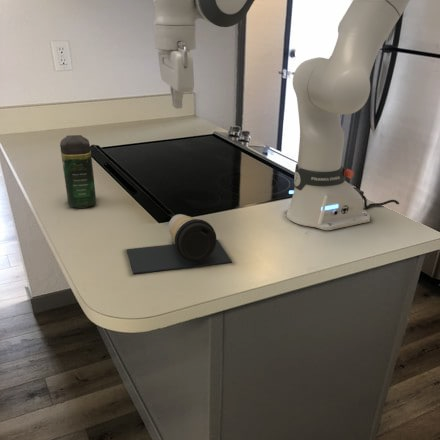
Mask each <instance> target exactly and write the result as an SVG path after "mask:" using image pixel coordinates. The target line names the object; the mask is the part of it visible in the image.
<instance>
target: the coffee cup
mask: <svg viewBox="0 0 440 440" xmlns="http://www.w3.org/2000/svg"><path fill="white" fill-rule="evenodd" d="M167 226H168V227H167V229H168V232H169V234H170V237H171V239H172V241H173V244H175V248H176V250H177V252H178V254H179V255H180V256H181V257H182V258H184V259H186V260H188V261H193V262H197V261H201V260H204V259H206V258H207V257H208V256H210V255H211V253H212V252H213V250H214V249H215V246H216V240H218V239H217V233H216V231H215V229H214V227H213V226H212V225H211V223H210V222H208V221H206V220H203V219H199V218H194V217H192V216H189V215H186V214H182V213H179V214H175V215H174V216H172V217H171V219H170V220H169V222H168V225H167Z"/></svg>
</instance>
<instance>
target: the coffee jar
mask: <svg viewBox="0 0 440 440" xmlns="http://www.w3.org/2000/svg"><path fill="white" fill-rule="evenodd" d="M59 147H60V154H61V155H60V156H61V163H62V169H63V175H64V176H63V177H64V182H65V183H64V184H65V189H66V191H65V192H66V197H67V204H68V205H69V206H70V208H78V209H86V208H88V207H92V206H95V205H96V202H97V196H96V195H97V194H96V187H95V186H96V185H95V176H94V168H93V167H94V166H93V159H92V158H93V157H92V151H91V145H90V141H89V139H88V138H87V137H84V136H83V135H81V134H74V135H73V134H71V135H70V134H69V135H65V137H64V138H62V139H61V140H60V142H59Z"/></svg>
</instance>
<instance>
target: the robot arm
mask: <svg viewBox="0 0 440 440" xmlns="http://www.w3.org/2000/svg"><path fill="white" fill-rule="evenodd" d="M152 1H153V5H154V10H155V11H154V12H155V16H154V21H153V27H154V29H153V30H154V48H155V49H156V50H157V57H158V66H159V73H160V77H161V81H163V82H164V83H166V84H167V85H168V86H169V91H170V96H171V103H172V104H171V105H172V106H173V108H174V109H176V110H177V109H178V110H179V109H182V108H183V98H184V95H185V94H184V93H192V92H193V91H194V88H195V74H194V59H193V54H192V53H191V51H194V50H196V49H197V43H196V42H197V38H196V37H197V36H196V34H197V33H196V32H197V31H196V29H197V28H196V21H197V20H198V19H201V20H203V21H205V22H208V23H211V24H213V25H214V26H215V27H216V26H217V27H220V28H229V27H233V26H235V25H237V24H239V23H240V22H241V21H242V20H243V19H244V18H245V17H246V16H247V14H248V12H249V11H250V9H251V7H252V6H253V4H254V2H255V1H256V0H152ZM410 1H411V0H352V2H351V3H350V5H349V7H348V8H347V10H346V11H345V13H344V14H343V16H342V18H341V20H340V21H339V23H338V27H337V34H338V35H337V38H336V42H335V45H334V47H333V50H332V53H331V55H330V56H329V58H325V57H319V56H318V57H313V58H310V59H307V60H304V61H303V62H301V63H300V64H299V65H298V66H297V67H296V69H295V70H294V72H293V75H292V88H293V91H294V93H295V96H296V102H297V103H296V104H297V111H298V113H297V114H298V122H299V142H298V143H299V144H298V155H297V163H296V165H295V168H294V178H293V186H294V187H293V188H294V189H293V190H289V191H288V194H289V195H292V197H291V201H290V204H289V207H288V210H287V212H286V218H287V219H288V220H289V221H291V222H293V223H295V224H297V225H301V226H304V227H311V228H317V229H320V230H323V231H333V230H336V229H342V228H347V227H351V226H355V225H360V224H366V223H369V222H370V221H371V215H370V214H369V213H368V212H367V210H368V209H369V208H370V207H379V206H384V205H387V204H389V203H394V204H395V205H399V204H400V202H399V201H398V200H396V199H388V200H386V201H383V202H375V203H374V202H372V203H369V204H368V199H367V197H366V195H364V193H365V192H364V191H363V190H361V189H359V188H357V187H355V186H352V185H351V184H350V183H349V182H347V180H346V178H347V179H352V178H353V177H354V175H355V172H354V170H352V169H350V168H347V169H346V167H344V166H342V160H343V154H344V146H345V142H346V141H345V139H346V137H345V136H346V135H345V132H344V130H343V126H342V123H341V117H340V115H341V116H343V115H351V114H355V113H357V112H359V111H360V110H361V109H362V108H363V107H364V106H365V104H366V103H367V102H368V99H369V97H370V93H371V81H370V79H371V78H370V77H371V73H372V70H373V67H374V64H375V61H376V59H377V57H378V55H379V54H378V53H379V52H380V50H381V49H382V47H383V45H384V43H385V42H386V40H387V38H388V37H389V35H390V34H391V32H392V30H393V29H394V27H395V26H396V24H397V23H398V21H399V19H400V18H401V16H402V15H403V13H404V12H405V10H406V8H407V7H408V5H409V2H410ZM345 177H346V178H345ZM364 208H365V209H367V210H365V209H364Z"/></svg>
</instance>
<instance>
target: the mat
mask: <svg viewBox="0 0 440 440" xmlns="http://www.w3.org/2000/svg"><path fill="white" fill-rule="evenodd" d="M126 253H127V256H128V257H127V258H128V260H129V264H130V268H131V271H132V274H133V275H140V274H148V273H156V272H157V273H158V272H165V271H174V270H183V269H192V268H199V267H200V268H201V267H207V266H217V265H225V264H232V263H233V261H232V259H231V257H230V256H229V255H228V253H227V252H226V250H225V249H224V248H223V245H222V244H221V243H220V241H219V239H217V240H216V246H215V249H214V250H213V252H212V253H211V255H210V256H208V257H207V258H206V259H204V260H201V261H197V262H193V261H188V260H186V259H184V258H182V257H181V256H180V255H179V254H178V252H177V250H176V248H175V243H173V244H172V243H171V244H164V245H153V246H145V247H144V246H143V247H134V248H127V249H126Z"/></svg>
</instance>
